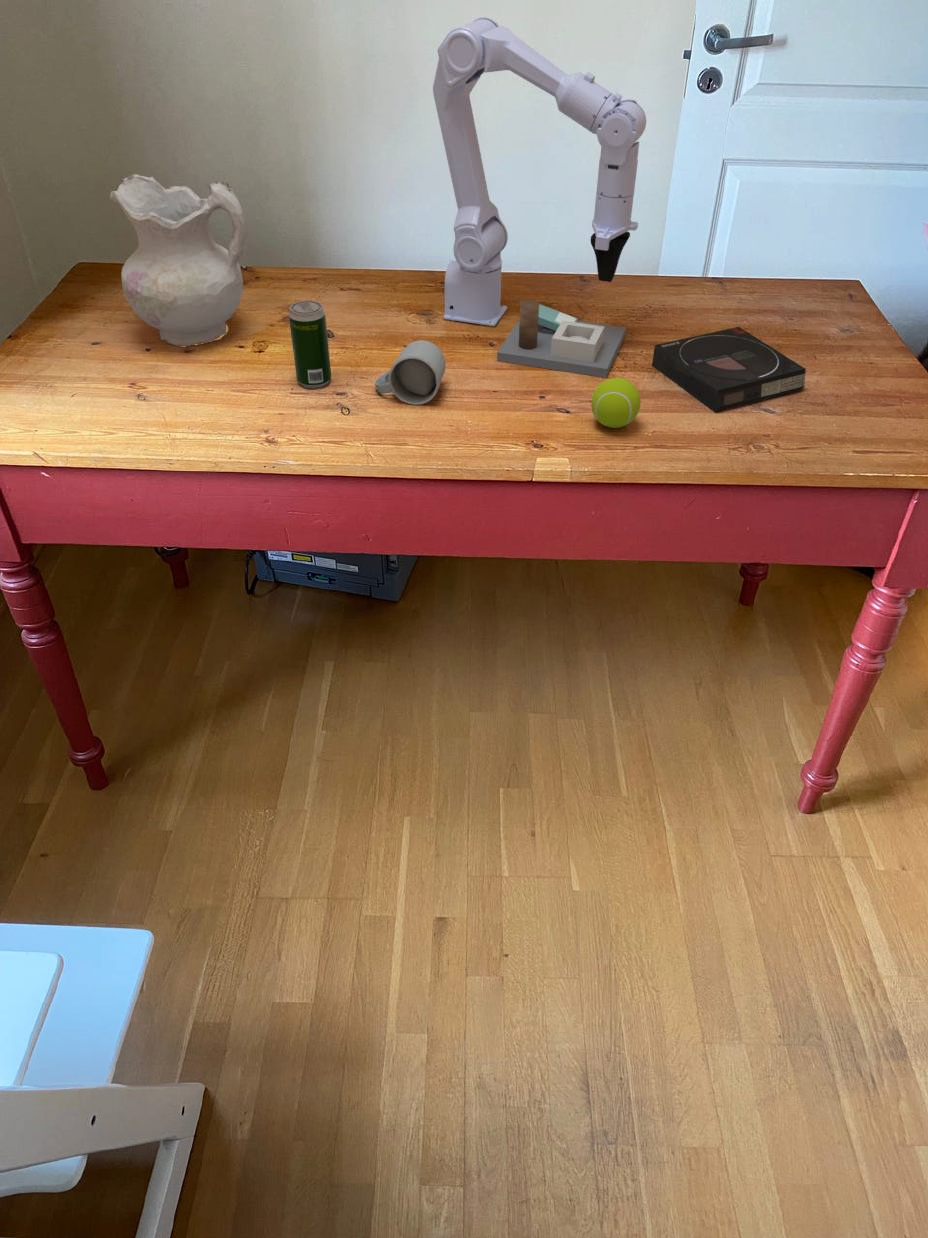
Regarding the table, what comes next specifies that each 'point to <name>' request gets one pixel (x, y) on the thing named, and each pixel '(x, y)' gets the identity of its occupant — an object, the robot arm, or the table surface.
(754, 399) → the portable cd player
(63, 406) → the table surface
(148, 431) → the table surface
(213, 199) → the ceramic pitcher
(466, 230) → the robot arm
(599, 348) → the panel
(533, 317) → the dowel
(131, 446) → the table surface
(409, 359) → the ceramic mug
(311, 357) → the beer can
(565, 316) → the block
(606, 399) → the tennis ball
